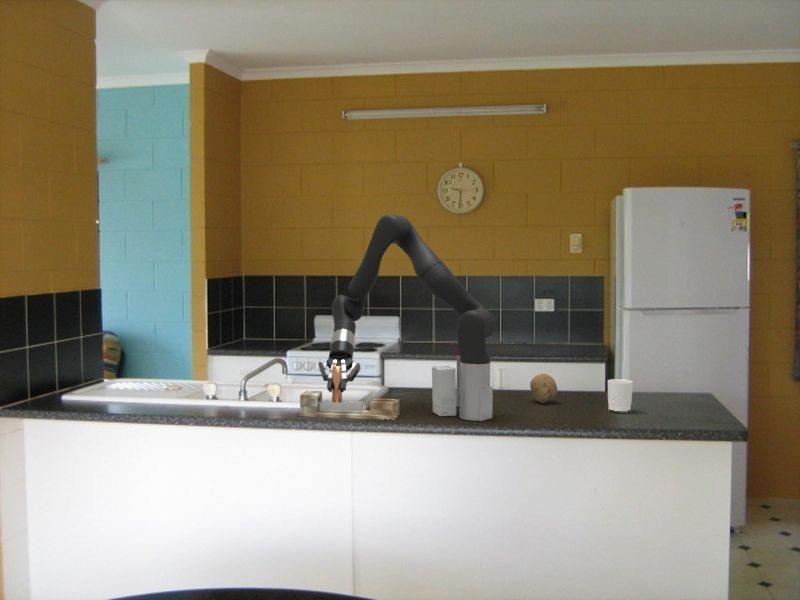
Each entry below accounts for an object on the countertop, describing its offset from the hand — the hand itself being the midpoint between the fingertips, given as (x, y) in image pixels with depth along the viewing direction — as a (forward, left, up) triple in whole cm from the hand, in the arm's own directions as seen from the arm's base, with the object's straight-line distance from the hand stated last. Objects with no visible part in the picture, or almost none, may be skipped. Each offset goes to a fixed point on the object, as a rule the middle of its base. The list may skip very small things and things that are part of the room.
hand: (336, 390), depth 249 cm
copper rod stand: (+1, -2, -7) cm, 7 cm away
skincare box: (-22, -26, -8) cm, 35 cm away
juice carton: (-21, -42, -8) cm, 47 cm away
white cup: (-62, -67, -8) cm, 92 cm away
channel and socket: (-2, -4, -8) cm, 9 cm away
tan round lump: (-36, -64, -8) cm, 74 cm away
